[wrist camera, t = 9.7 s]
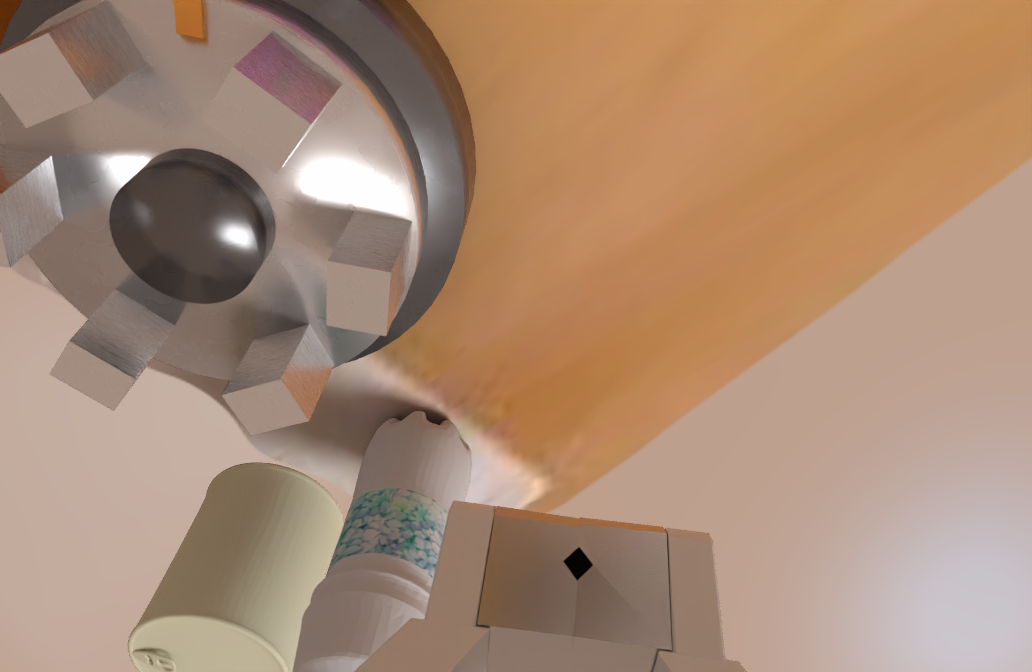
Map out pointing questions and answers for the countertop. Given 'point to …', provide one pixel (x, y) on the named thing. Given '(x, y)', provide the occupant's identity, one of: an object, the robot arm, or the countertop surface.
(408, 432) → the bottle
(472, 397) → the countertop surface
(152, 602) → the can
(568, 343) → the countertop surface
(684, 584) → the robot arm
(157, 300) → the toothed metal gear
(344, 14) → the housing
